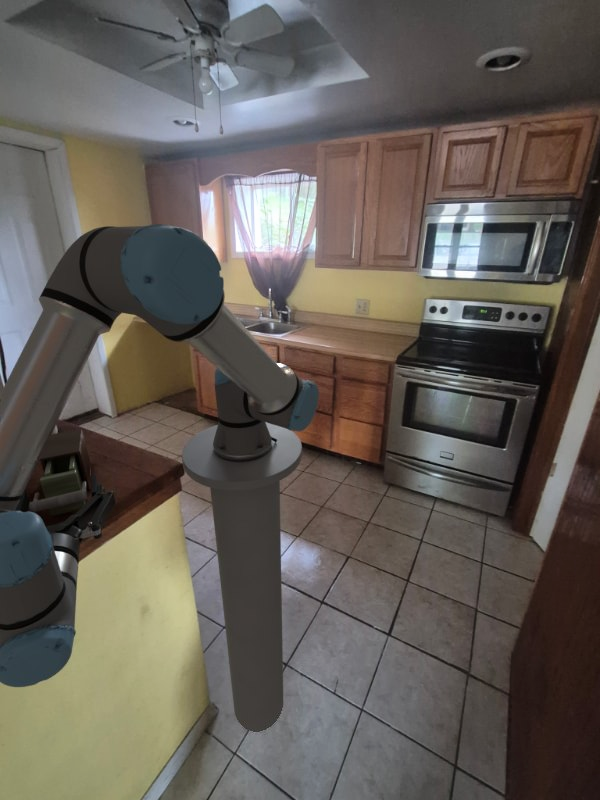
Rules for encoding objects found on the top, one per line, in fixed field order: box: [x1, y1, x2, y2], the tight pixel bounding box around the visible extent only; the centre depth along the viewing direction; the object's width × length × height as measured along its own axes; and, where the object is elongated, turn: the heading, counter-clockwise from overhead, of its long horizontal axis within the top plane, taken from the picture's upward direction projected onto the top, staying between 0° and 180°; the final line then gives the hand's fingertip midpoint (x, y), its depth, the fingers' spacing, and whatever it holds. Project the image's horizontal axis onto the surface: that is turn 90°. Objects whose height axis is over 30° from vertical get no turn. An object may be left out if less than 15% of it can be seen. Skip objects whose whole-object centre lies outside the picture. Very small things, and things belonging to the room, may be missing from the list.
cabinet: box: [39, 428, 92, 492], centre depth 84 cm, size 11×7×10 cm, turn 27°
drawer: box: [28, 454, 89, 517], centre depth 75 cm, size 16×9×9 cm, turn 27°
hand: (61, 487), depth 73 cm, fingers open, 11 cm apart
